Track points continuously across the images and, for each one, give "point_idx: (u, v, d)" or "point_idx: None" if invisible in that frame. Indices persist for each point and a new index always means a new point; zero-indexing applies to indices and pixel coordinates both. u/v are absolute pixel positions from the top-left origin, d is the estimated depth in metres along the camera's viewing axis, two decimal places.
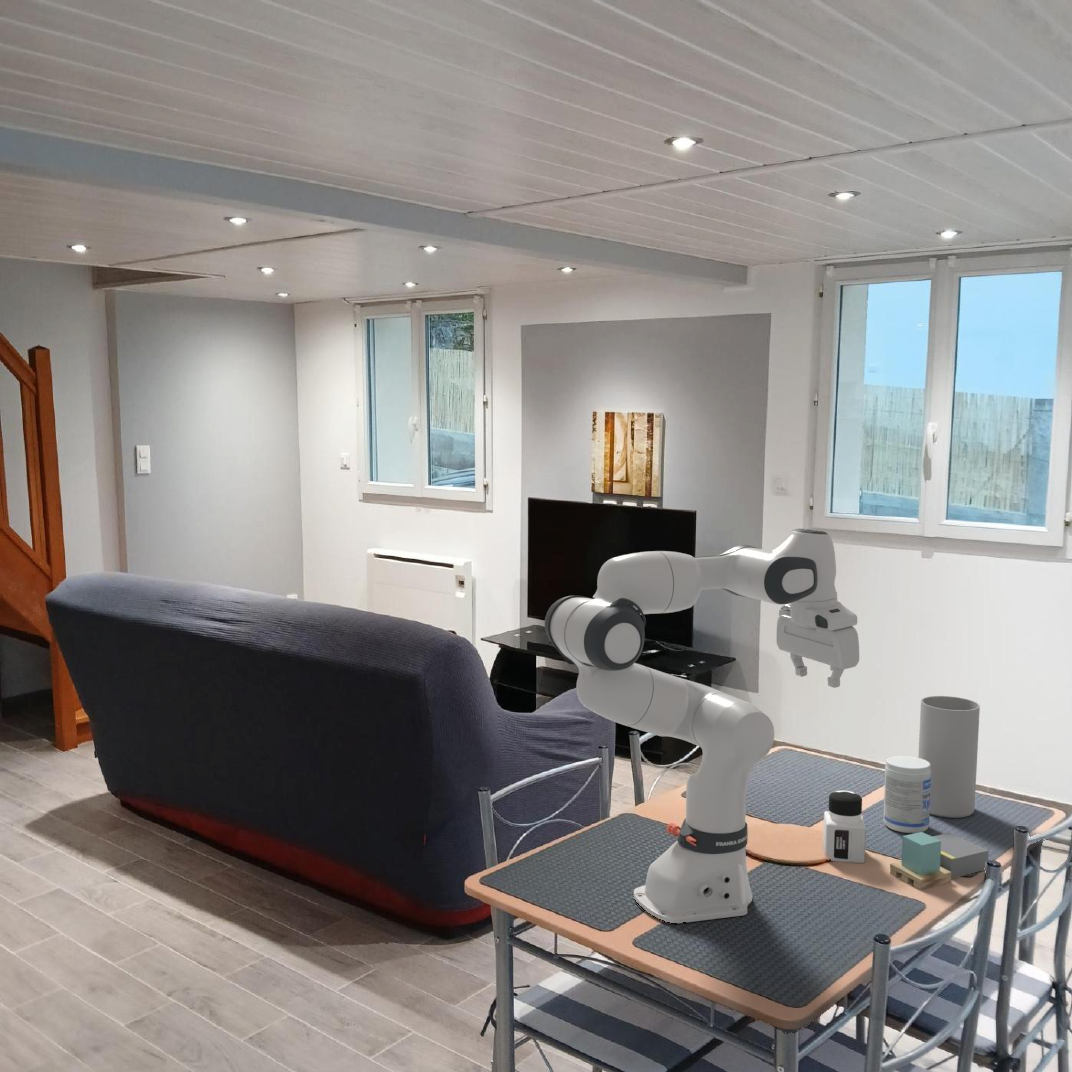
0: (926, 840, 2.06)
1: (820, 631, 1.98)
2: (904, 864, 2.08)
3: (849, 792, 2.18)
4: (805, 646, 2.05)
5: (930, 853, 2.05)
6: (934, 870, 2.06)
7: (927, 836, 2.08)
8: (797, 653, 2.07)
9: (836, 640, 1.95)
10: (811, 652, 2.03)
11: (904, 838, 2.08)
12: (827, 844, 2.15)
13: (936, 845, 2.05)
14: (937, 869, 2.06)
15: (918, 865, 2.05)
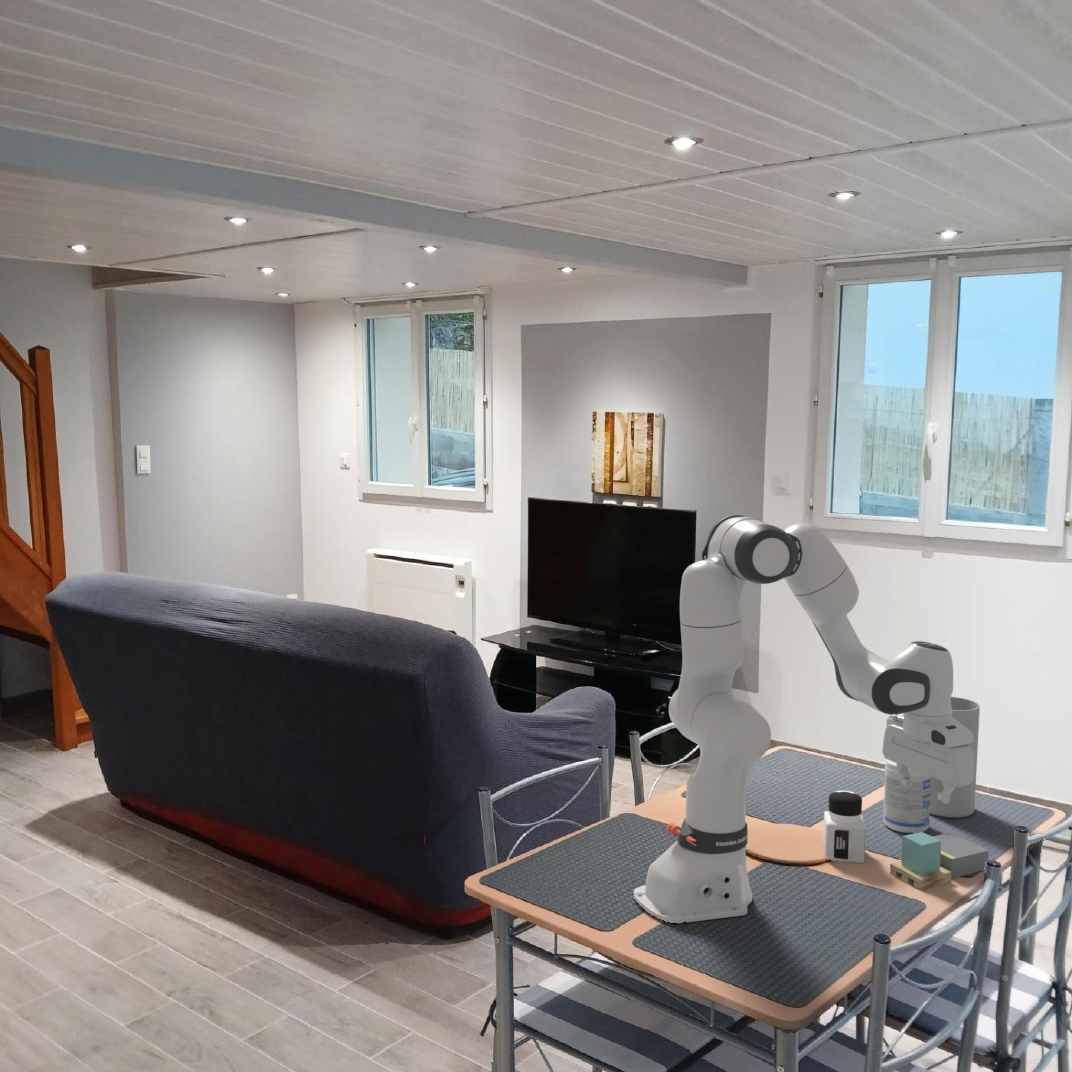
0: (926, 840, 2.06)
1: (935, 746, 1.99)
2: (904, 864, 2.08)
3: (849, 792, 2.18)
4: (916, 758, 2.05)
5: (930, 853, 2.05)
6: (934, 870, 2.06)
7: (927, 836, 2.08)
8: (905, 765, 2.08)
9: (953, 757, 1.96)
10: (921, 765, 2.04)
11: (904, 838, 2.08)
12: (827, 844, 2.15)
13: (936, 845, 2.05)
14: (937, 869, 2.06)
15: (918, 865, 2.05)
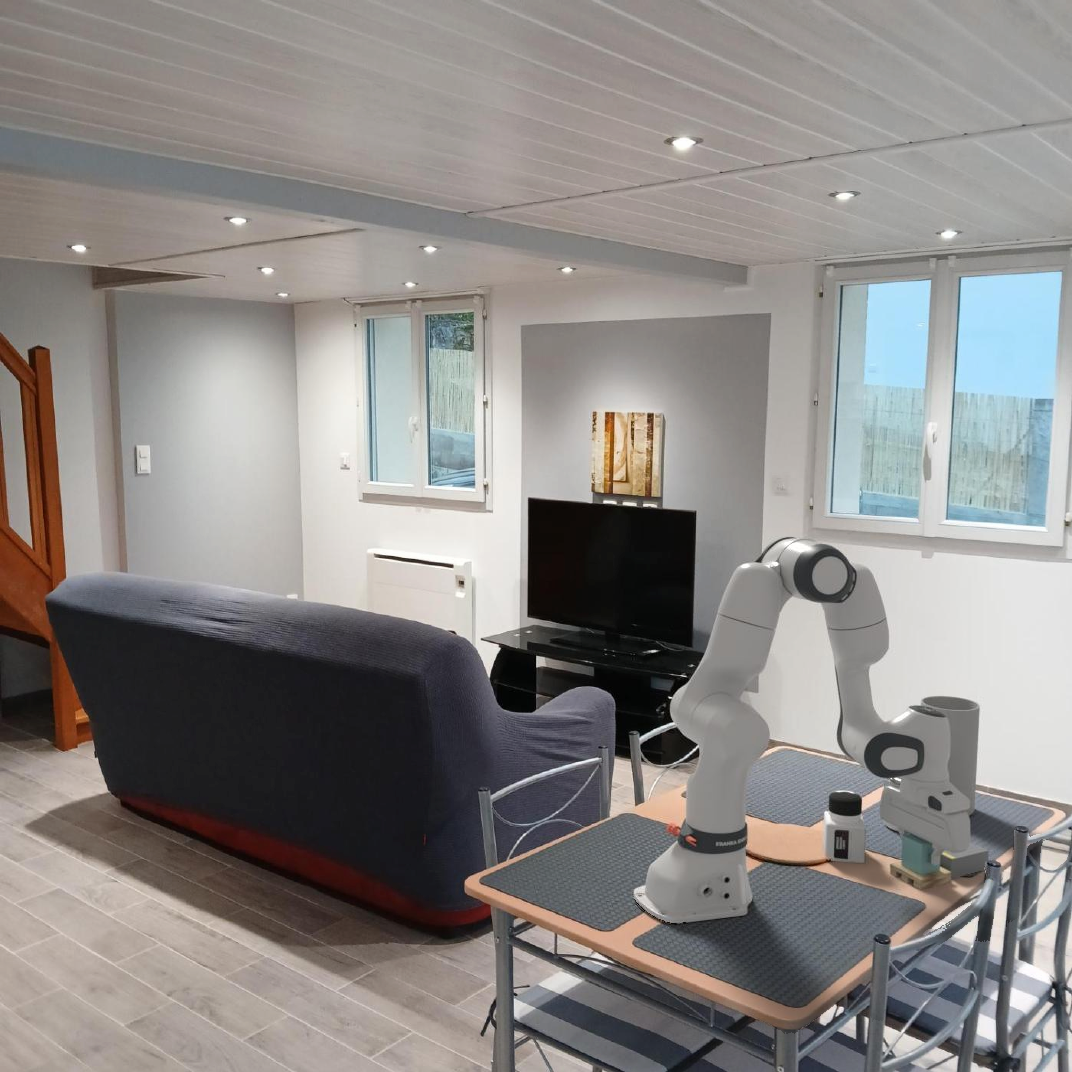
0: None
1: (932, 812, 2.00)
2: (904, 864, 2.08)
3: (849, 792, 2.18)
4: (912, 822, 2.06)
5: (930, 853, 2.05)
6: (934, 870, 2.06)
7: None
8: (902, 828, 2.09)
9: (949, 824, 1.97)
10: (918, 829, 2.05)
11: (904, 838, 2.08)
12: (827, 844, 2.15)
13: None
14: (937, 869, 2.06)
15: (918, 865, 2.05)
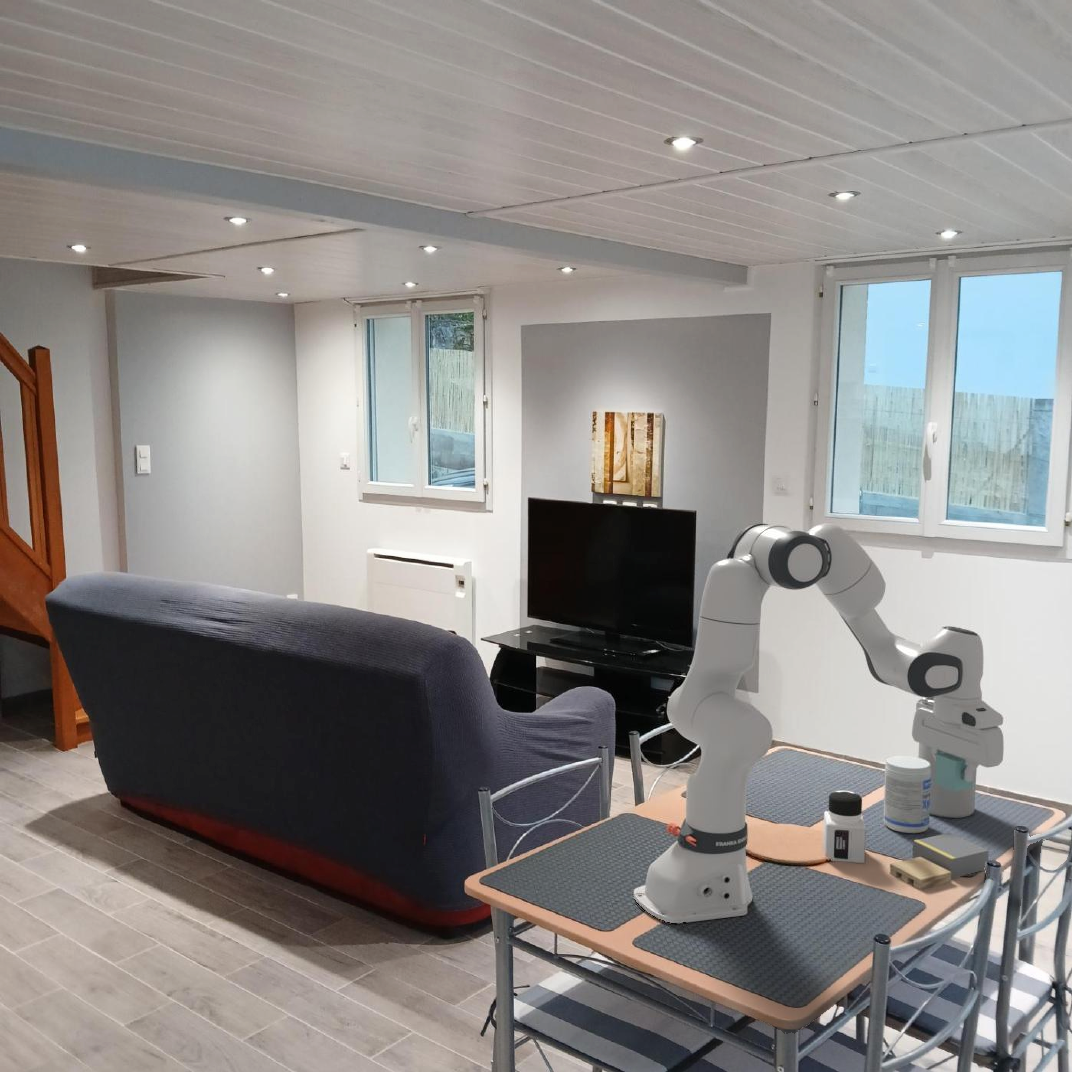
0: (959, 758, 2.10)
1: (966, 728, 2.05)
2: (937, 782, 2.12)
3: (849, 792, 2.18)
4: (945, 740, 2.11)
5: (963, 770, 2.09)
6: (967, 787, 2.10)
7: None
8: (935, 747, 2.14)
9: (983, 738, 2.02)
10: (951, 747, 2.10)
11: (937, 756, 2.12)
12: (827, 844, 2.15)
13: None
14: (970, 786, 2.11)
15: (952, 782, 2.09)
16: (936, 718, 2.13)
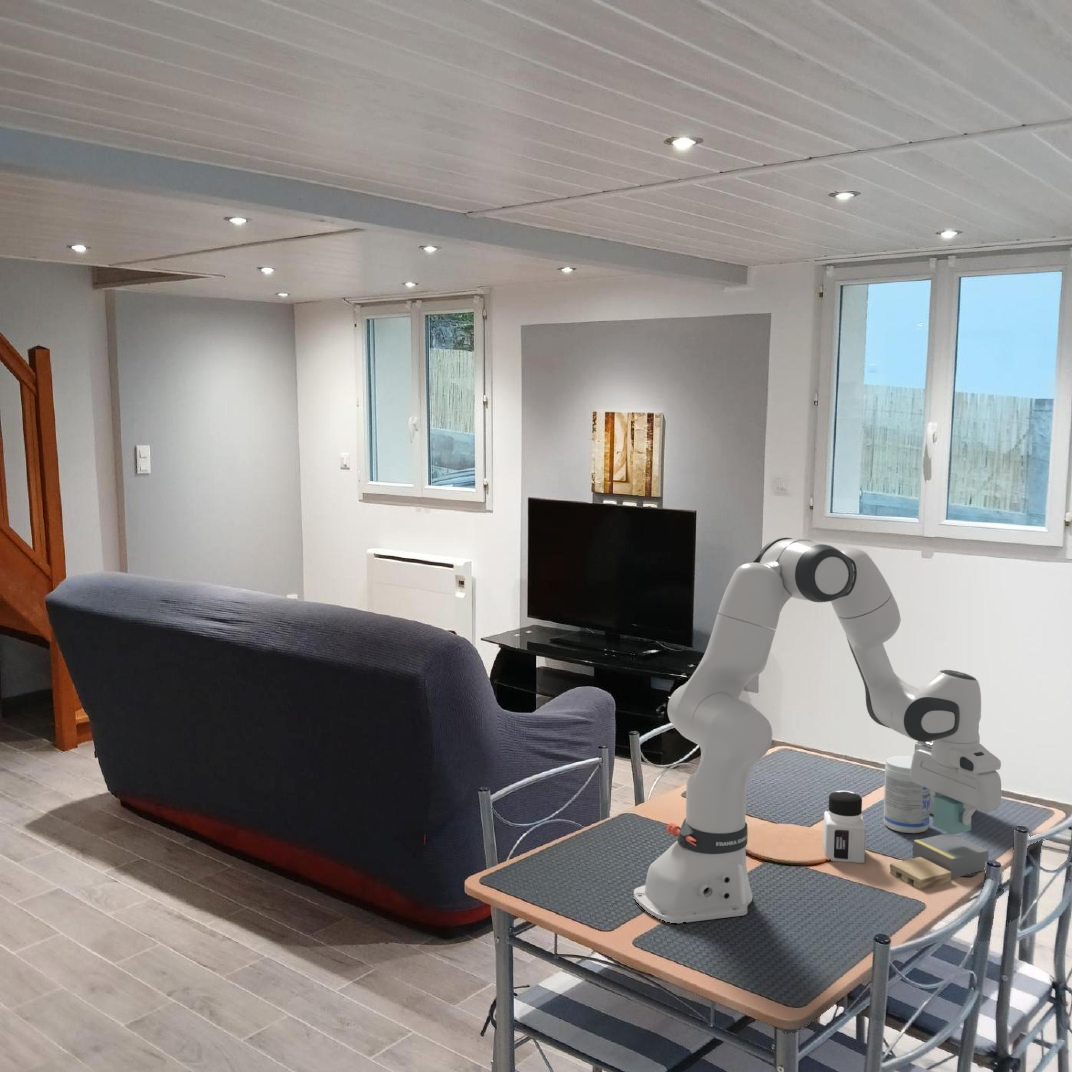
0: None
1: (963, 772, 2.06)
2: (936, 824, 2.14)
3: (849, 792, 2.18)
4: (944, 783, 2.12)
5: (961, 813, 2.10)
6: (965, 830, 2.11)
7: None
8: (933, 789, 2.15)
9: (981, 783, 2.03)
10: (949, 790, 2.11)
11: (936, 799, 2.13)
12: (827, 844, 2.15)
13: None
14: (968, 829, 2.12)
15: (950, 825, 2.10)
16: (934, 761, 2.14)
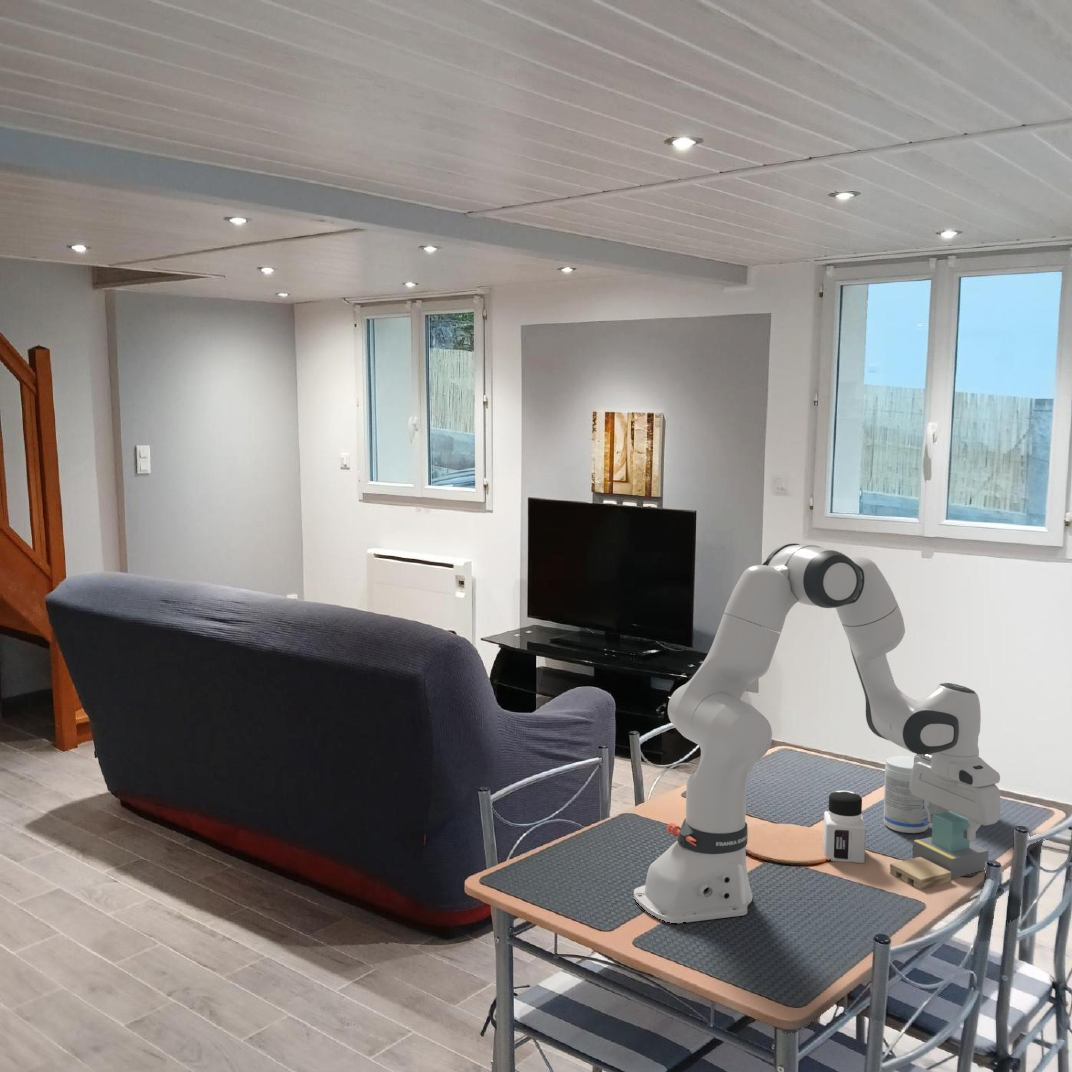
0: (956, 818, 2.12)
1: (963, 786, 2.06)
2: (934, 842, 2.14)
3: (849, 792, 2.18)
4: (943, 796, 2.12)
5: (960, 830, 2.11)
6: (964, 847, 2.12)
7: (957, 815, 2.14)
8: (932, 802, 2.15)
9: (980, 797, 2.03)
10: (948, 803, 2.11)
11: (934, 817, 2.14)
12: (827, 844, 2.15)
13: (966, 823, 2.11)
14: (967, 847, 2.12)
15: (949, 843, 2.10)
16: (933, 773, 2.14)
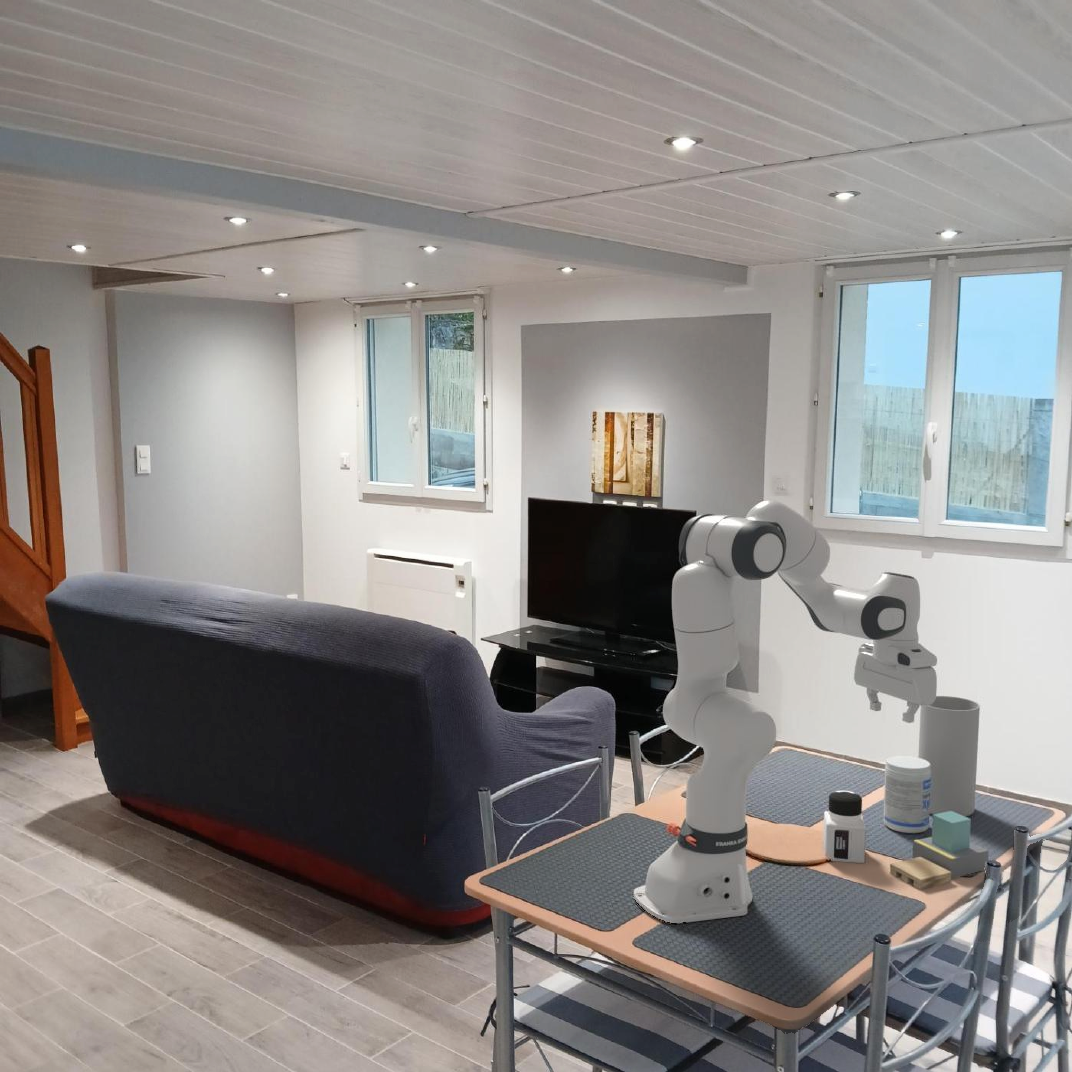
0: (956, 818, 2.12)
1: (901, 668, 2.13)
2: (934, 842, 2.14)
3: (849, 792, 2.18)
4: (884, 682, 2.19)
5: (960, 830, 2.11)
6: (964, 847, 2.12)
7: (957, 815, 2.14)
8: (874, 689, 2.22)
9: (916, 677, 2.10)
10: (888, 688, 2.18)
11: (934, 817, 2.14)
12: (827, 844, 2.15)
13: (966, 823, 2.11)
14: (967, 847, 2.12)
15: (949, 843, 2.10)
16: (875, 661, 2.21)
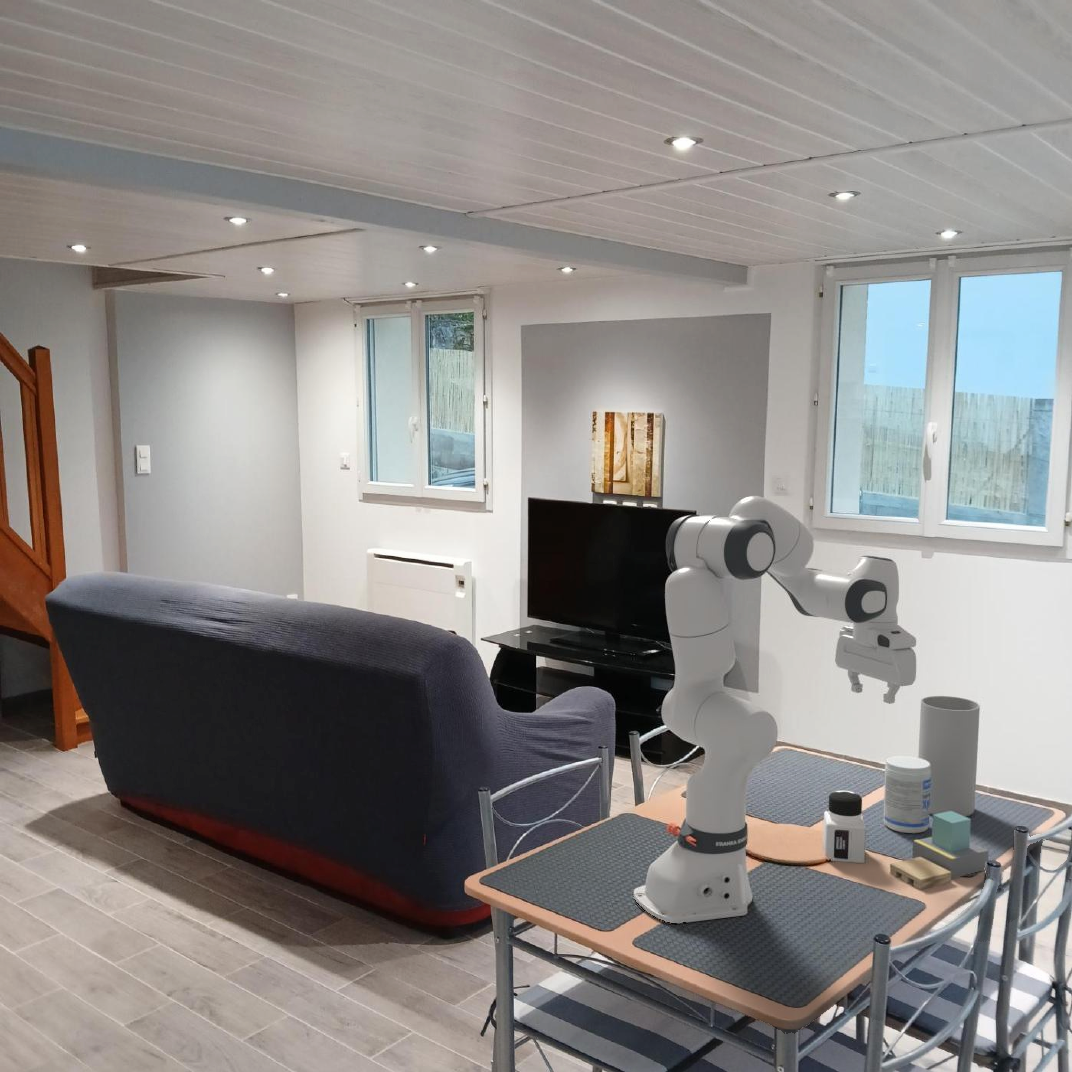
0: (956, 818, 2.12)
1: (881, 650, 2.16)
2: (934, 842, 2.14)
3: (849, 792, 2.18)
4: (864, 664, 2.22)
5: (960, 830, 2.11)
6: (964, 847, 2.12)
7: (957, 815, 2.14)
8: (855, 671, 2.25)
9: (896, 659, 2.13)
10: (869, 669, 2.21)
11: (934, 817, 2.14)
12: (827, 844, 2.15)
13: (966, 823, 2.11)
14: (967, 847, 2.12)
15: (949, 843, 2.10)
16: (856, 643, 2.24)
